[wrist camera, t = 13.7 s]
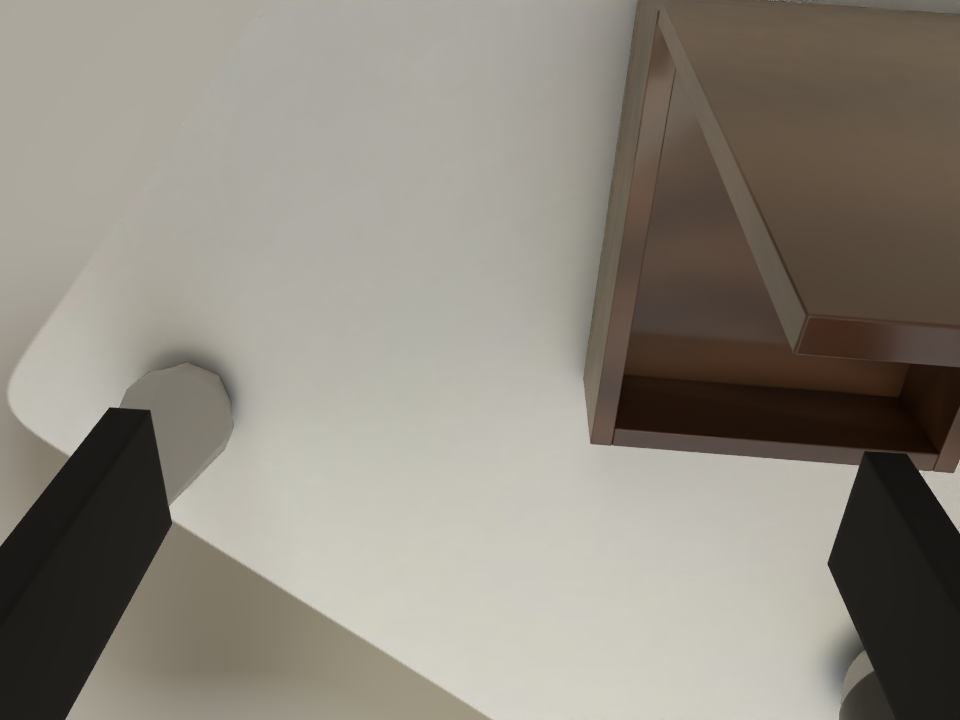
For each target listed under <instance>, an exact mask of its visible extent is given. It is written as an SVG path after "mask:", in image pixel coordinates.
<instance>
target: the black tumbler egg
mask: <svg viewBox="0 0 960 720" xmlns="http://www.w3.org/2000/svg"><path fill="white" fill-rule="evenodd" d="M839 720H896V719H895V717H894V715H893V712H892V710H891V708H890V706H889V703H888V701H887V699H886V696H885V694H884V692H883V690H882V687H881V685H880V683H879V680H878V678H877V676H876V674H875V671H874V669H873V667H872V664H871V662H870V660H869V658H868V655H867V653H866V651H865V650H864V651H862V652H861V653H860V654H859V655H858V656H857V657H856V659H855V660H854V661H853V662H852V664H851V665H850V667H849V669H848V671H847V673H846V675H845V678H844V681H843V685H842V691H841V708H840V713H839Z"/></svg>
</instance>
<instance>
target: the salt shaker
mask: <svg viewBox="0 0 960 720" xmlns="http://www.w3.org/2000/svg"><path fill="white" fill-rule="evenodd" d="M119 408H128V409H145V410H151V416H152V421H153V426H154V431H155V437H156V442H157V447H158V452H159V458H160V463H161V468H162V474H163V479H164V484H165V489H166V495H167V500H168V505H169V506H170V505H171V503H172V502H173V501H174V500H175V499H176V498H177V497H178V496H179V495H180V494H181V493H182V492H183V491H184V490H185V489H186V488H187V487H188V486H189V485H190V484H191V483H192V482H193V481H194V480H195V479H196V478H197V477H198V476H199V475H200V474H201V473H202V472H203V471H204V470H205V469H206V468H207V467H208V466H209V465H210V464H211V463H212V462H213V461H214V460H215V459H216V458H217V457H218V456H219V455H220V454H221V453H222V452H223V451H224V450H225V448H226V445H227V443H228V441H229V438H230V436H231V433H232V430H233V427H234V423H233V415H232V406H231V402H230V399H229V397H228V395H227V393H226V390H225V388H224V386H223V383H222V381H221V379H220V377H219V375H217V374H214V373H212V372H210V371H207V370H205V369H202V368H200V367H198V366H195V365H193V364H190V363H188V362H186V363H183V364H180V365H177V366H175V367H172V368H168V369H162V370H157V371H152V372H148V373H147V374H146V375H144V376H143V377H142V378H140V379H139V380H138V381H137V382H135V383H134V384H133V385H131V386H130V387H129V388H128V389H127V390H126V392H125V395H124V397H123V400H122V402H121V404H120V407H119Z"/></svg>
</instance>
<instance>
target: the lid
mask: <svg viewBox="0 0 960 720" xmlns="http://www.w3.org/2000/svg"><path fill="white" fill-rule="evenodd" d="M658 24H659V27H660V29H661V32H662V34H663V36H664V39H665V41H666V44H667V46H668V49H669V51H670V53H671V56H672V58H673V61H674V63H675V66H676V68H677V71H678V73H679V75H680V78H681V80H682V83H683V85H684V88H685V90H686V92H687V95H688V97H689V100H690V102H691V105H692V107H693V109H694V112H695V114H696V117H697V119H698V122H699V124H700V127H701V129H702V131H703V134H704V136H705V139H706V141H707V144H708V146H709V148H710V151H711V153H712V156H713V158H714V161H715V163H716V165H717V168H718V170H719V173H720V175H721V178H722V180H723V183H724V185H725V187H726V190H727V192H728V195H729V197H730V200H731V202H732V204H733V207H734V209H735V212H736V214H737V217H738V219H739V221H740V224H741V226H742V229H743V231H744V234H745V236H746V239H747V241H748V243H749V246H750V248H751V251H752V253H753V256H754V258H755V260H756V263H757V265H758V268H759V270H760V273H761V275H762V277H763V280H764V282H765V285H766V287H767V290H768V292H769V295H770V297H771V299H772V302H773V304H774V307H775V309H776V312H777V314H778V316H779V319H780V321H781V324H782V326H783V329H784V331H785V333H786V336H787V338H788V341H789V343H790V346H791V348H792V351H793V353H794V354H797V355H809V356H822V357H835V358H847V359H860V360H873V361H885V362H898V363H911V364H923V365H936V366H949V367H960V22H952V21H939V20H925V19H911V18H898V17H884V16H870V15H857V14H843V13H829V12H816V11H802V10H788V9H775V8H761V7H747V6H734V5H720V4H706V3H693V2H679V1H665V0H663V1H662V2H661V8H660V14H659V20H658Z"/></svg>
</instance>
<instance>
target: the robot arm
mask: <svg viewBox="0 0 960 720" xmlns="http://www.w3.org/2000/svg"><path fill="white" fill-rule="evenodd" d="M171 525H172V521H171V516H170V510H169V505H168V500H167V495H166V489H165V484H164V479H163V474H162V468H161V463H160V458H159V452H158V447H157V442H156V437H155V431H154V426H153V421H152V416H151V410H145V409H128V408H111V407H110V408H109V409H108V410H107V411H106V413H105V414H104V415H103V416H102V418H101V419H100V420H99V422H98V423H97V424H96V425H95V427H94V428H93V429H92V430H91V432H90V433H89V434H88V436H87V437H86V438H85V439H84V441H83V442H82V443H81V444H80V446H79V447H78V448H77V450H76V451H75V452H74V453H73V455H72V456H71V457H70V458H69V460H68V461H67V462H66V464H65V465H64V466H63V467H62V469H61V470H60V472H59V473H58V474H57V475H56V476H55V478H54V479H53V480H52V481H51V483H50V484H49V485H48V487H47V488H46V489H45V490H44V492H43V493H42V494H41V496H40V497H39V498H38V499H37V501H36V502H35V503H34V504H33V506H32V507H31V508H30V509H29V511H28V512H27V513H26V515H25V516H24V517H23V518H22V520H21V521H20V522H19V524H18V525H17V526H16V527H15V529H14V530H13V531H12V532H11V534H10V535H9V536H8V538H7V539H6V540H5V541H4V543H3V544H2V545H1V546H0V720H65V719H66V717H67V715H68V713H69V712H70V710H71V708H72V706H73V704H74V702H75V701H76V699H77V697H78V695H79V693H80V691H81V690H82V687H83V686H84V684H85V682H86V680H87V679H88V676H89V675H90V673H91V671H92V670H93V668H94V666H95V664H96V662H97V660H98V659H99V657H100V655H101V653H102V651H103V649H104V648H105V646H106V644H107V642H108V640H109V638H110V636H111V635H112V633H113V631H114V629H115V627H116V626H117V624H118V622H119V620H120V618H121V616H122V614H123V613H124V611H125V609H126V607H127V606H128V604H129V602H130V600H131V598H132V596H133V595H134V593H135V591H136V589H137V587H138V585H139V584H140V582H141V580H142V578H143V576H144V574H145V573H146V571H147V569H148V567H149V565H150V563H151V562H152V560H153V558H154V556H155V554H156V552H157V551H158V549H159V547H160V545H161V543H162V541H163V540H164V538H165V536H166V534H167V532H168V531H169V528H170V527H171ZM828 566H829V569H830V571H831V573H832V576H833V578H834V580H835V582H836V585H837V587H838V589H839V591H840V594H841V596H842V598H843V601H844V603H845V605H846V607H847V610H848V612H849V614H850V617H851V619H852V621H853V623H854V626H855V628H856V630H857V633H858V635H859V637H860V639H861V642H862V644H863V646H864V648H865V651H866V653H867V655H868V658H869V660H870V662H871V664H872V667H873V669H874V671H875V674H876V676H877V678H878V680H879V683H880V685H881V687H882V690H883V692H884V694H885V696H886V699H887V701H888V703H889V706H890V708H891V710H892V712H893V715H894V717H895V719H896V720H960V533H959V532H958V530H957V529H956V527H955V526H954V524H953V523H952V521H951V520H950V518H949V517H948V515H947V514H946V512H945V511H944V509H943V508H942V506H941V504H940V503H939V501H938V500H937V498H936V497H935V495H934V494H933V492H932V491H931V489H930V488H929V486H928V485H927V483H926V482H925V480H924V479H923V477H922V476H921V474H920V473H919V471H918V470H917V468H916V467H915V465H914V464H913V462H912V461H911V459H910V458H909V456H908V455H907V454H906V453H889V452H871V451H864V454H863V457H862V460H861V463H860V466H859V469H858V472H857V475H856V478H855V481H854V484H853V487H852V490H851V493H850V496H849V500H848V503H847V506H846V509H845V512H844V515H843V518H842V521H841V524H840V527H839V530H838V533H837V536H836V539H835V542H834V545H833V548H832V551H831V554H830V557H829V561H828Z"/></svg>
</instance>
